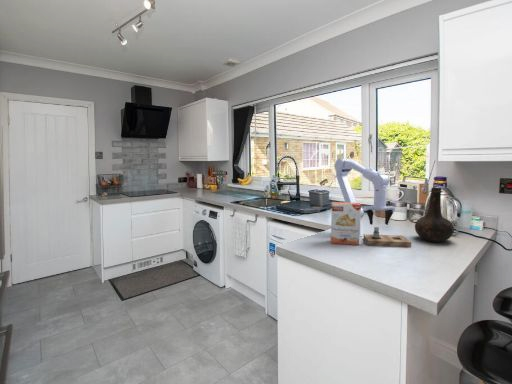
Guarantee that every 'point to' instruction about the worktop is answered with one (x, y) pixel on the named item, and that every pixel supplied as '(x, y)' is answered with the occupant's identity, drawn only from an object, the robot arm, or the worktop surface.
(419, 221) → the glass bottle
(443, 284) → the worktop surface
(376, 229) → the drill bit
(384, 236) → the block
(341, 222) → the cracker box
